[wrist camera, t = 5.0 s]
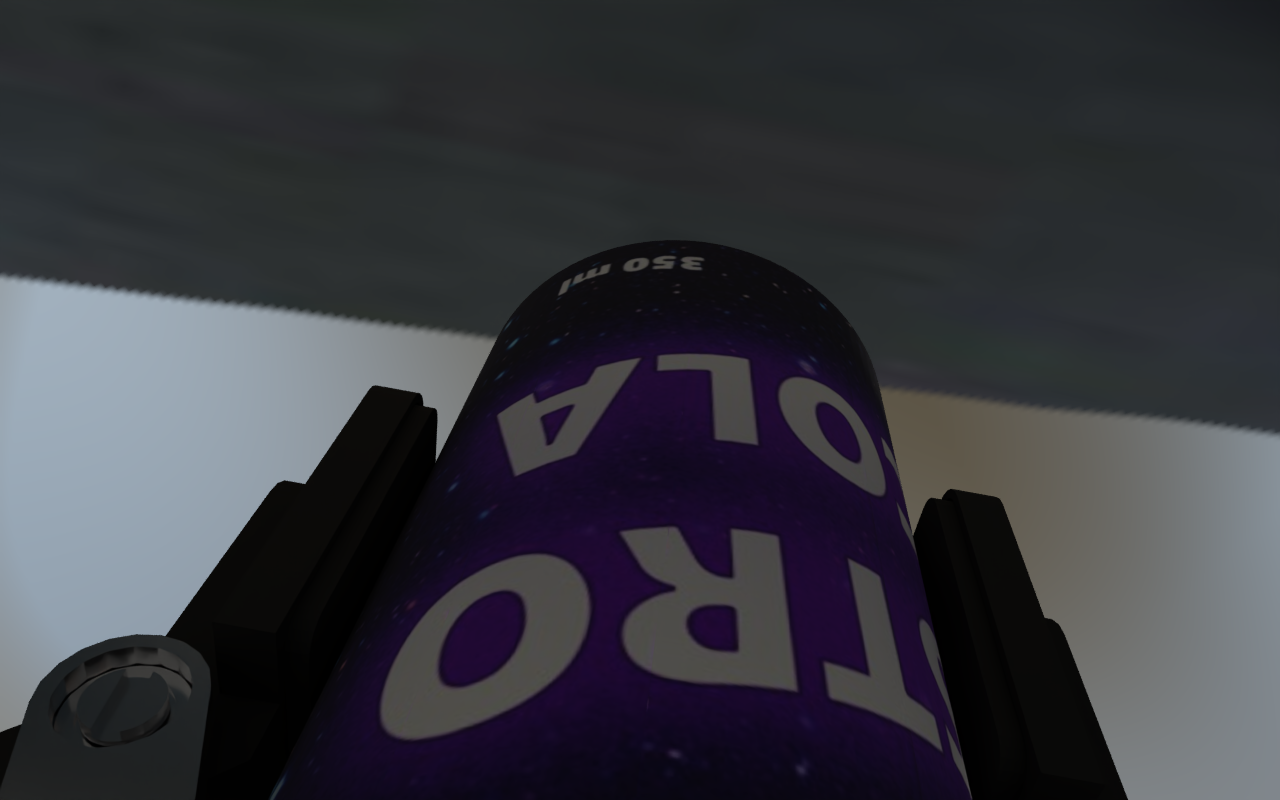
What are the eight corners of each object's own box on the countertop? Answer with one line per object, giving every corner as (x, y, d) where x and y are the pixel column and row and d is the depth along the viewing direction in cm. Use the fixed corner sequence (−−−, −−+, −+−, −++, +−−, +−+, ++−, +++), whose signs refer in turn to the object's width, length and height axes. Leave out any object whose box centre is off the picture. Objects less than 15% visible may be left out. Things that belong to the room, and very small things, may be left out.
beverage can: (927, 480, 15) (1310, 1914, 5) (602, 584, 17) (361, 1800, 6) (787, 147, 13) (939, 1560, 2) (425, 307, 14) (-405, 1531, 4)
